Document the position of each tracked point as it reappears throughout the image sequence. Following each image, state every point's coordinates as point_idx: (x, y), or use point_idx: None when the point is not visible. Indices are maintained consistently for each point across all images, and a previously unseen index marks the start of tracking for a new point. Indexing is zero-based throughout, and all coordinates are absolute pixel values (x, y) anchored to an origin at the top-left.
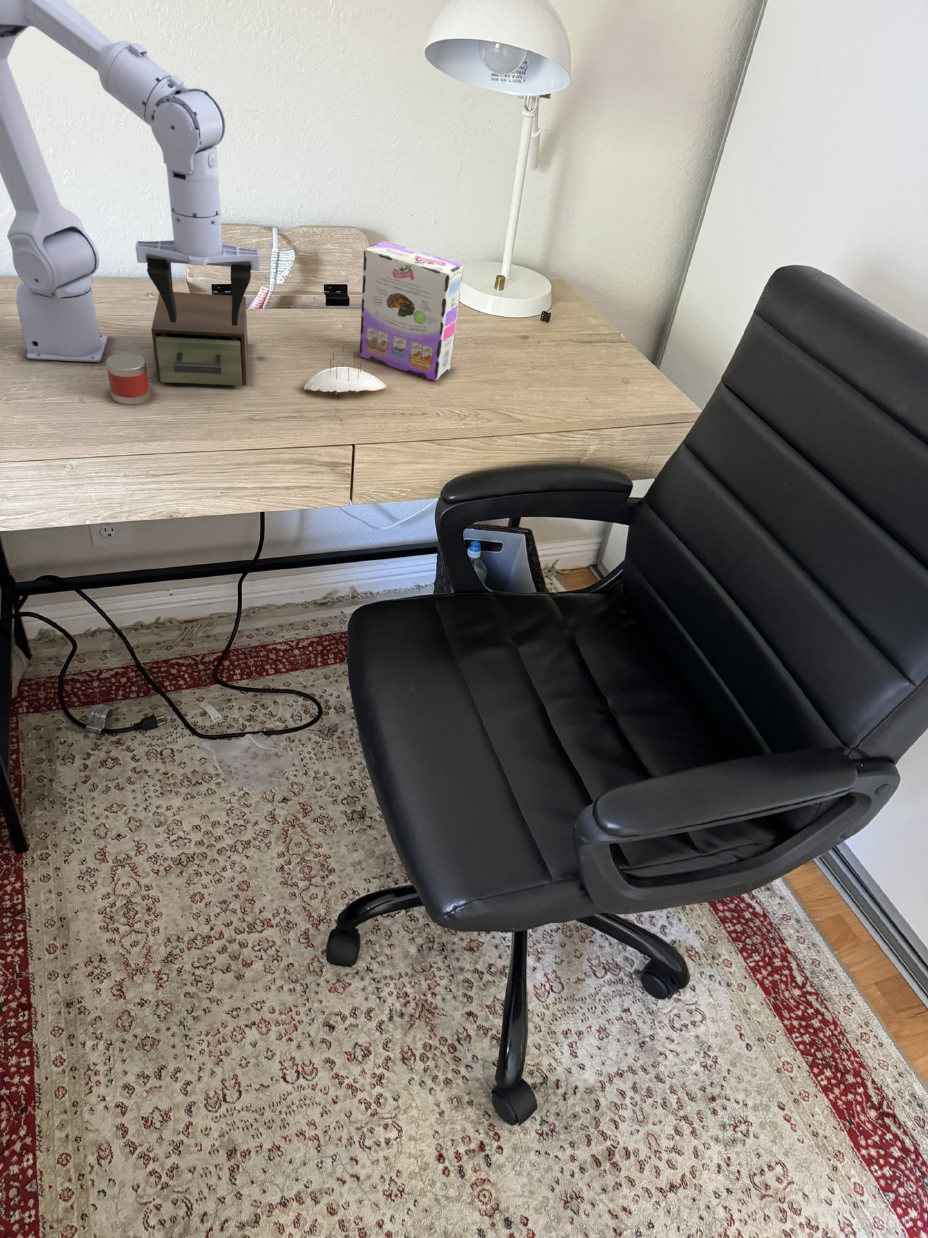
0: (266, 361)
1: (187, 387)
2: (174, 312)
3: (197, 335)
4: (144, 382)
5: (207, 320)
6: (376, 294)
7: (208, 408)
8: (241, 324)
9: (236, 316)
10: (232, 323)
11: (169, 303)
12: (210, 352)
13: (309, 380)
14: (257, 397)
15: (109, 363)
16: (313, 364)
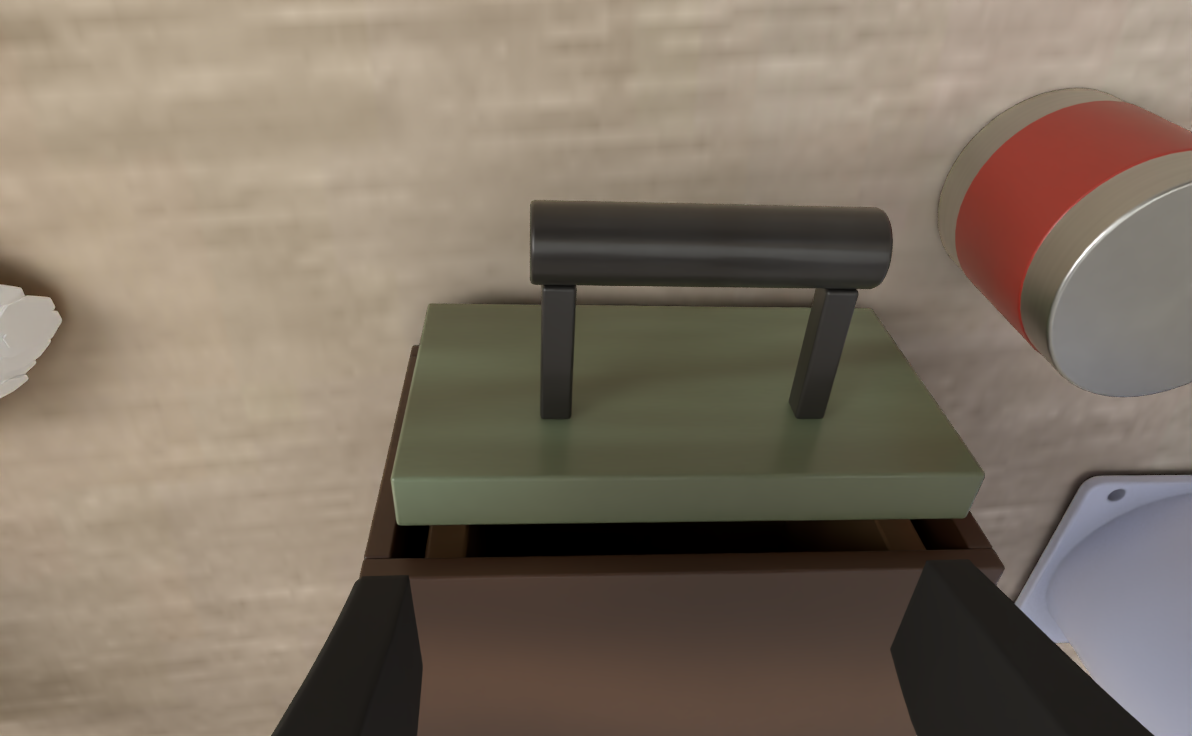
0: (342, 552)
1: (727, 299)
2: (975, 639)
3: None
4: (1028, 184)
5: (624, 692)
6: None
7: (624, 60)
8: None
9: (332, 650)
10: (399, 588)
11: (1087, 719)
12: (609, 426)
13: (5, 351)
14: (333, 214)
15: None
16: (104, 550)
